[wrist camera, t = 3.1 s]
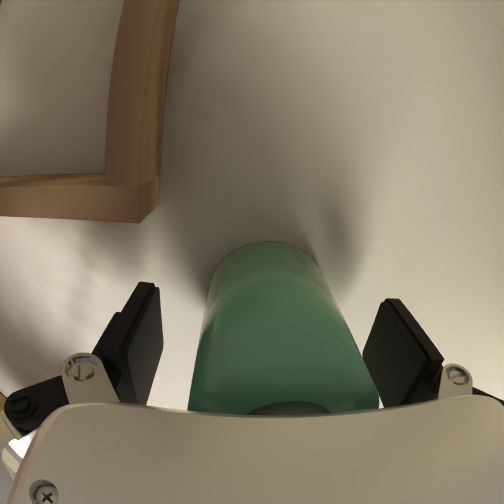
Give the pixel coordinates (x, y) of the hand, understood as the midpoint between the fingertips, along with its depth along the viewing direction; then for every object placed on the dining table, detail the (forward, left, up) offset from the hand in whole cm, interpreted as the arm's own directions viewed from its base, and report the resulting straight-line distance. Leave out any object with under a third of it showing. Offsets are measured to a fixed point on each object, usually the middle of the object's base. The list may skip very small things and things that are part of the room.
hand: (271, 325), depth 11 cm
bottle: (0, 0, -2) cm, 2 cm away
